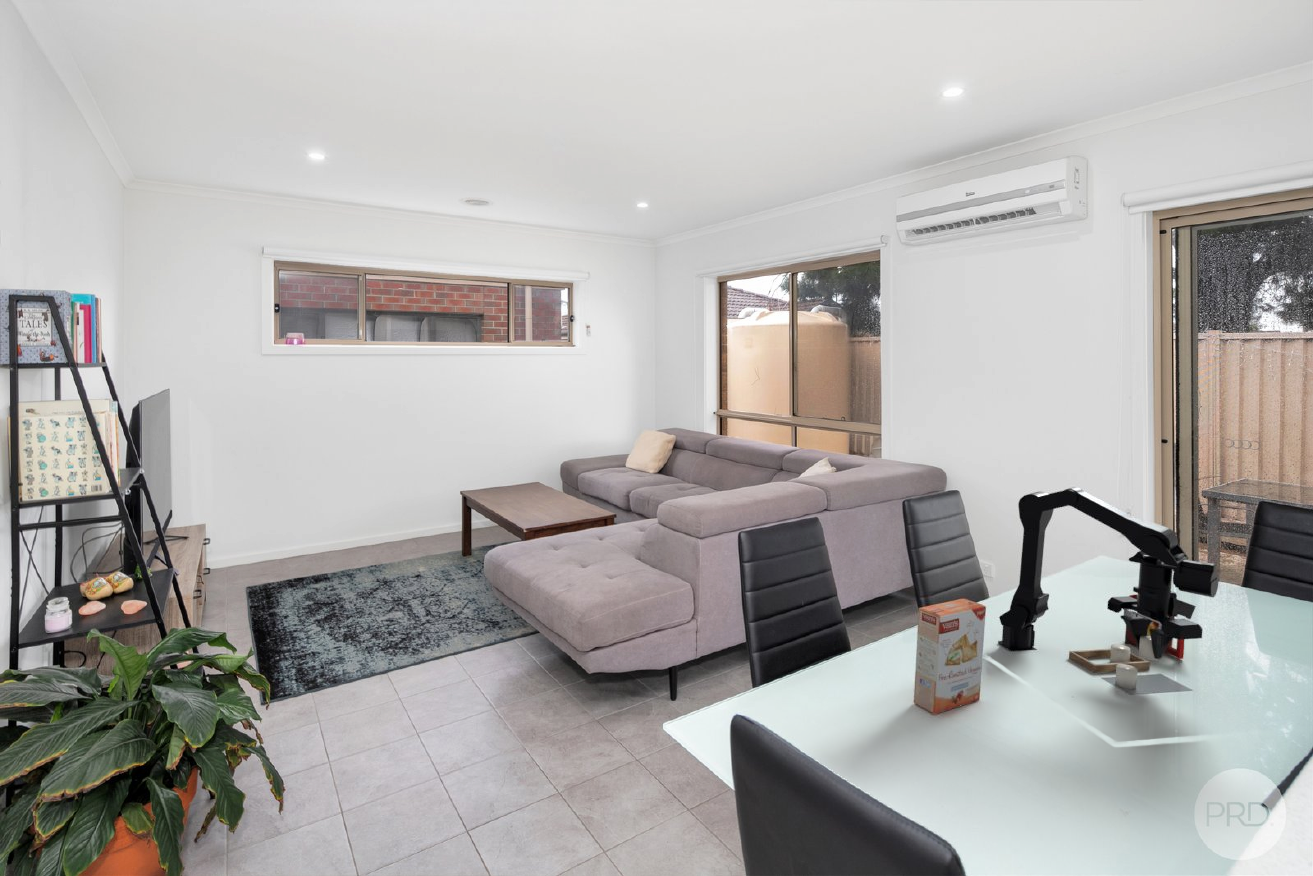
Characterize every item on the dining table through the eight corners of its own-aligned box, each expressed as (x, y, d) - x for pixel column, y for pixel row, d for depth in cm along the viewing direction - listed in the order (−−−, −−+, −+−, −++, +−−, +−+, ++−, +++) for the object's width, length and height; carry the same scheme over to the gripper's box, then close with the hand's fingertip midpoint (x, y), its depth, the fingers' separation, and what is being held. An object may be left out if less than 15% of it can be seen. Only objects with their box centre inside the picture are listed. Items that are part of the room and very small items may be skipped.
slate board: (1130, 698, 145) (1130, 694, 145) (1100, 681, 153) (1101, 677, 153) (1192, 693, 147) (1192, 690, 147) (1160, 677, 155) (1160, 673, 155)
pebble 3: (1148, 660, 147) (1150, 643, 146) (1134, 653, 150) (1135, 636, 150) (1164, 660, 147) (1166, 642, 147) (1149, 652, 151) (1151, 635, 151)
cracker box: (936, 717, 137) (940, 616, 135) (912, 703, 142) (916, 606, 140) (982, 701, 143) (987, 605, 141) (958, 689, 149) (962, 596, 147)
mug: (1181, 664, 161) (1185, 615, 160) (1117, 644, 173) (1120, 598, 172) (1199, 655, 166) (1203, 608, 165) (1135, 636, 178) (1139, 592, 177)
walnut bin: (1094, 676, 155) (1095, 665, 155) (1068, 661, 163) (1069, 651, 163) (1149, 672, 157) (1149, 662, 157) (1121, 658, 165) (1121, 648, 165)
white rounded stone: (1125, 689, 147) (1126, 672, 146) (1110, 682, 151) (1112, 664, 150) (1140, 688, 147) (1142, 671, 147) (1126, 680, 151) (1127, 663, 151)
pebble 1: (1120, 668, 158) (1121, 651, 158) (1106, 661, 162) (1106, 645, 161) (1133, 666, 159) (1134, 649, 159) (1119, 659, 163) (1119, 643, 162)
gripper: (1229, 597, 139) (1222, 671, 141) (1151, 571, 157) (1146, 636, 159) (1180, 600, 138) (1174, 674, 139) (1107, 573, 156) (1103, 638, 158)
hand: (1149, 654), depth 149 cm, fingers closed on pebble 3, 4 cm apart
